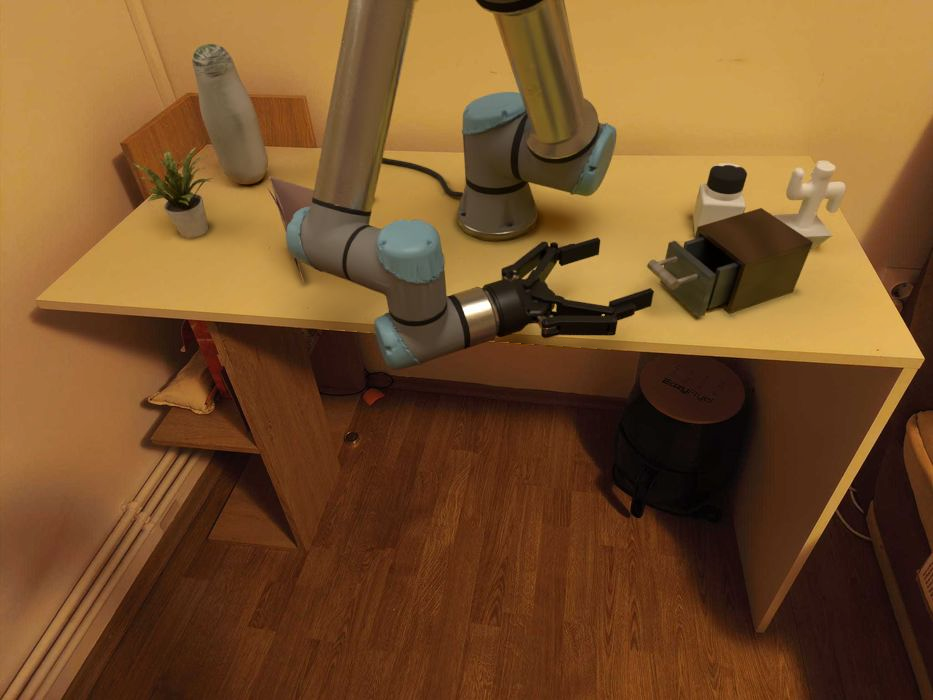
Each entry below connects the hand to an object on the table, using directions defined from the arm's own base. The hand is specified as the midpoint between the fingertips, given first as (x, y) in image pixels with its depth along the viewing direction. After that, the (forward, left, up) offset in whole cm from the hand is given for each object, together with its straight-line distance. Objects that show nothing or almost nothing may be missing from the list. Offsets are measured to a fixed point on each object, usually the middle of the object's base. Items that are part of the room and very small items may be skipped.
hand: (623, 270), depth 89 cm
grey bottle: (-87, +13, -11) cm, 88 cm away
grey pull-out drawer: (+10, +11, -10) cm, 18 cm away
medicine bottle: (+8, +33, -11) cm, 36 cm away
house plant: (-82, -7, -11) cm, 83 cm away
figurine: (+22, +34, -11) cm, 42 cm away
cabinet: (+15, +18, -10) cm, 26 cm away
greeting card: (-55, -6, -11) cm, 56 cm away
